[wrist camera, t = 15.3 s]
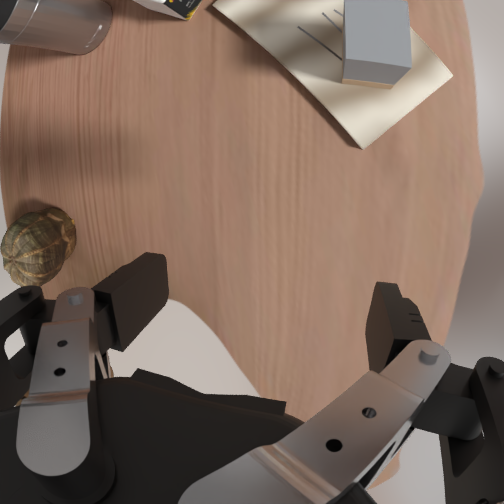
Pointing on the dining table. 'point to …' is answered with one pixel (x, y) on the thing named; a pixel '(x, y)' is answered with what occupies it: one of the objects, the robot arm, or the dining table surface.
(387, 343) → the robot arm
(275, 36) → the board
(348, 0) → the block
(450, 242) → the dining table surface
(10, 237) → the green pumpkin
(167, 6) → the medicine bottle
